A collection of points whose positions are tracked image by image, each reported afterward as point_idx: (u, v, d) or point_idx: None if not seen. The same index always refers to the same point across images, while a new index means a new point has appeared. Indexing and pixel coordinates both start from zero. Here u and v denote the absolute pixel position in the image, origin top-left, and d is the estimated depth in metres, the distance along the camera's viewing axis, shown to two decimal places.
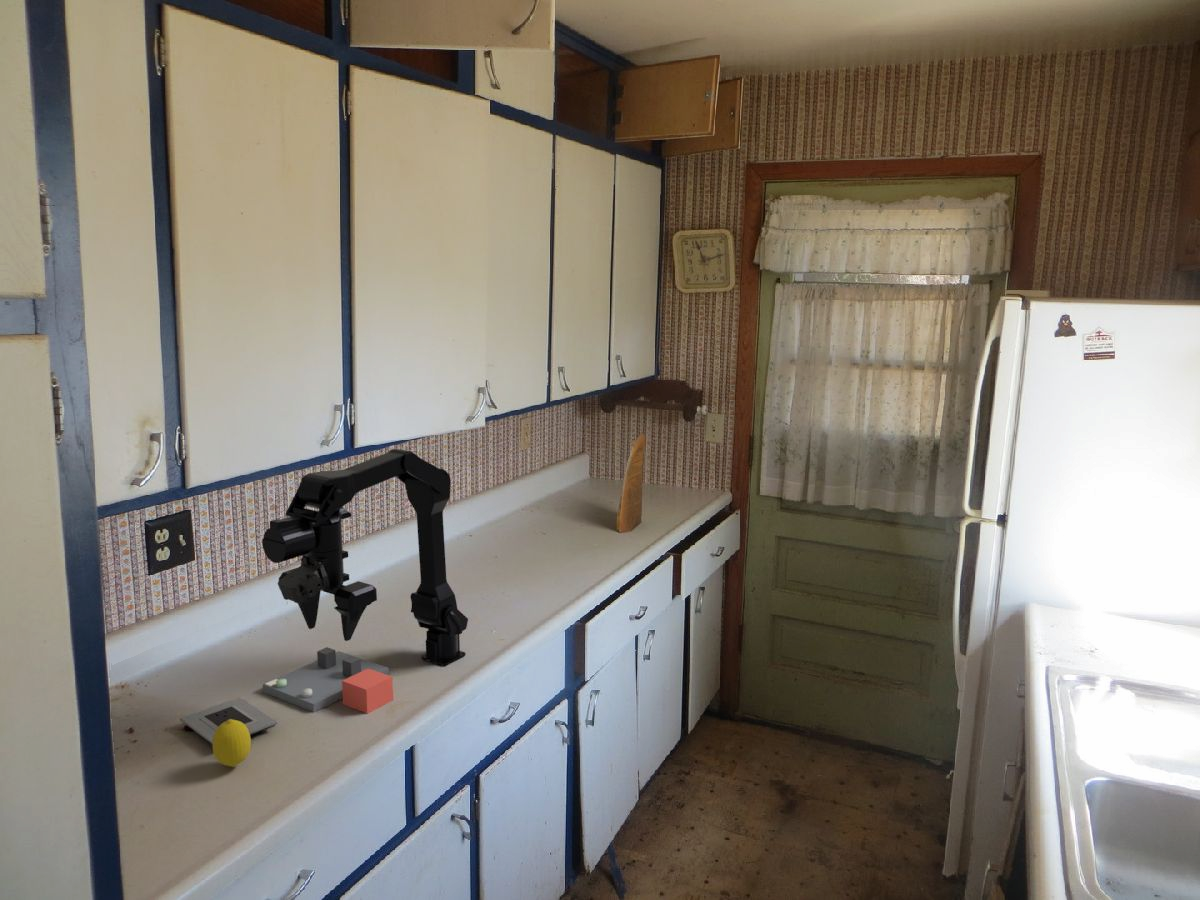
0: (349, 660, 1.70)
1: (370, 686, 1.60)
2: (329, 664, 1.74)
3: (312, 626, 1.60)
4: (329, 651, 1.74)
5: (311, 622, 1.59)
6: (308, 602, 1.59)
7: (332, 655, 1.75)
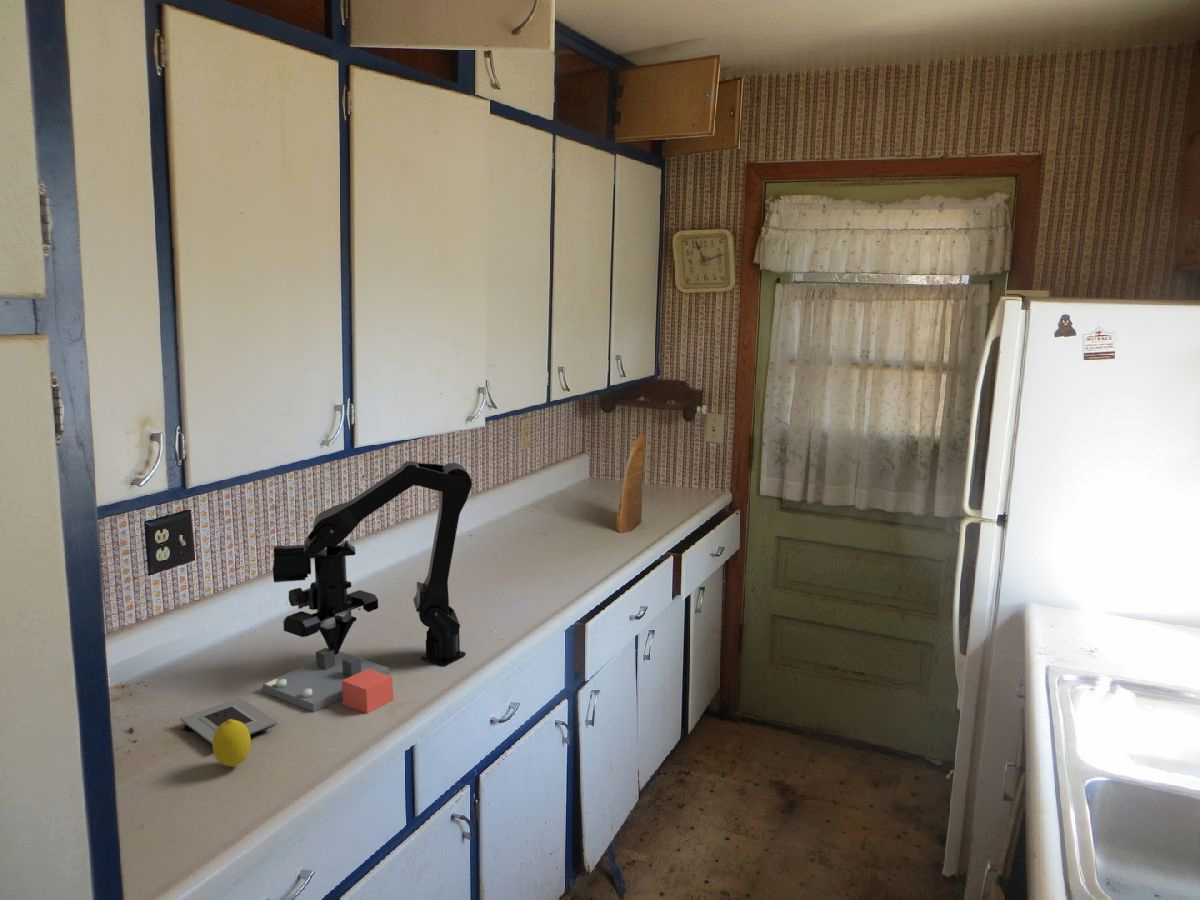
0: (349, 660, 1.70)
1: (370, 686, 1.60)
2: (328, 665, 1.74)
3: (334, 652, 1.77)
4: (328, 651, 1.74)
5: None
6: None
7: (331, 655, 1.74)
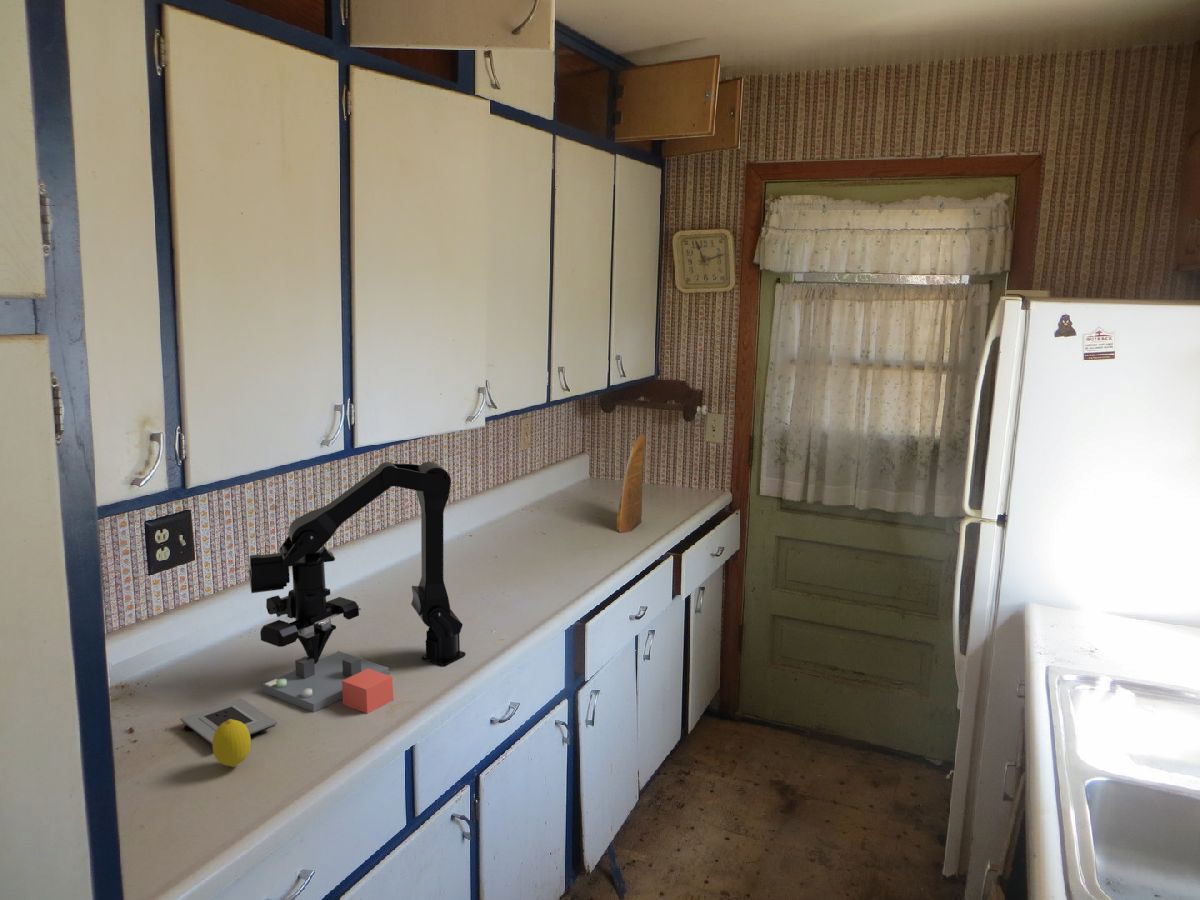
0: (349, 660, 1.70)
1: (370, 686, 1.60)
2: (307, 674, 1.70)
3: None
4: (307, 660, 1.70)
5: None
6: None
7: (311, 664, 1.70)
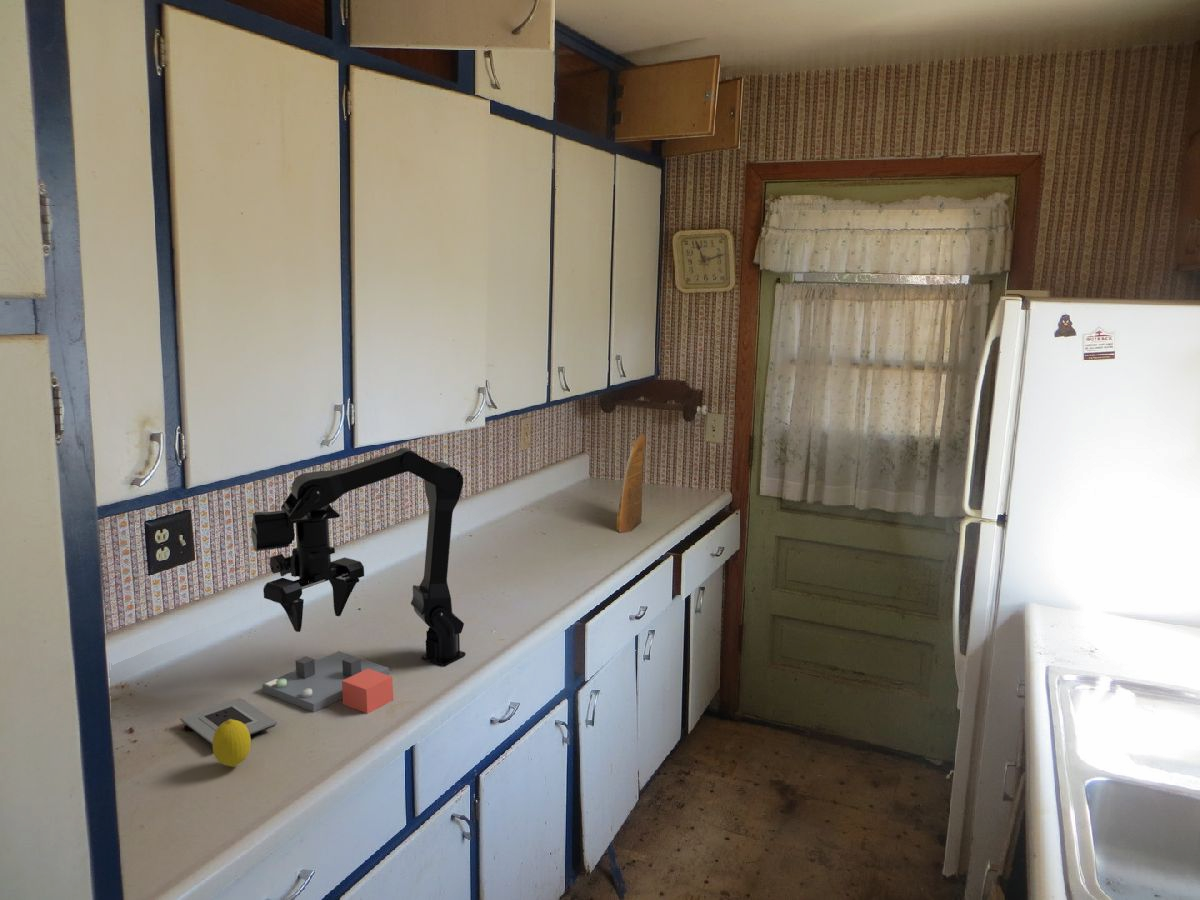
0: (349, 660, 1.70)
1: (370, 686, 1.60)
2: (308, 673, 1.70)
3: (337, 614, 1.73)
4: (307, 660, 1.70)
5: (336, 610, 1.73)
6: (338, 591, 1.72)
7: (311, 664, 1.70)
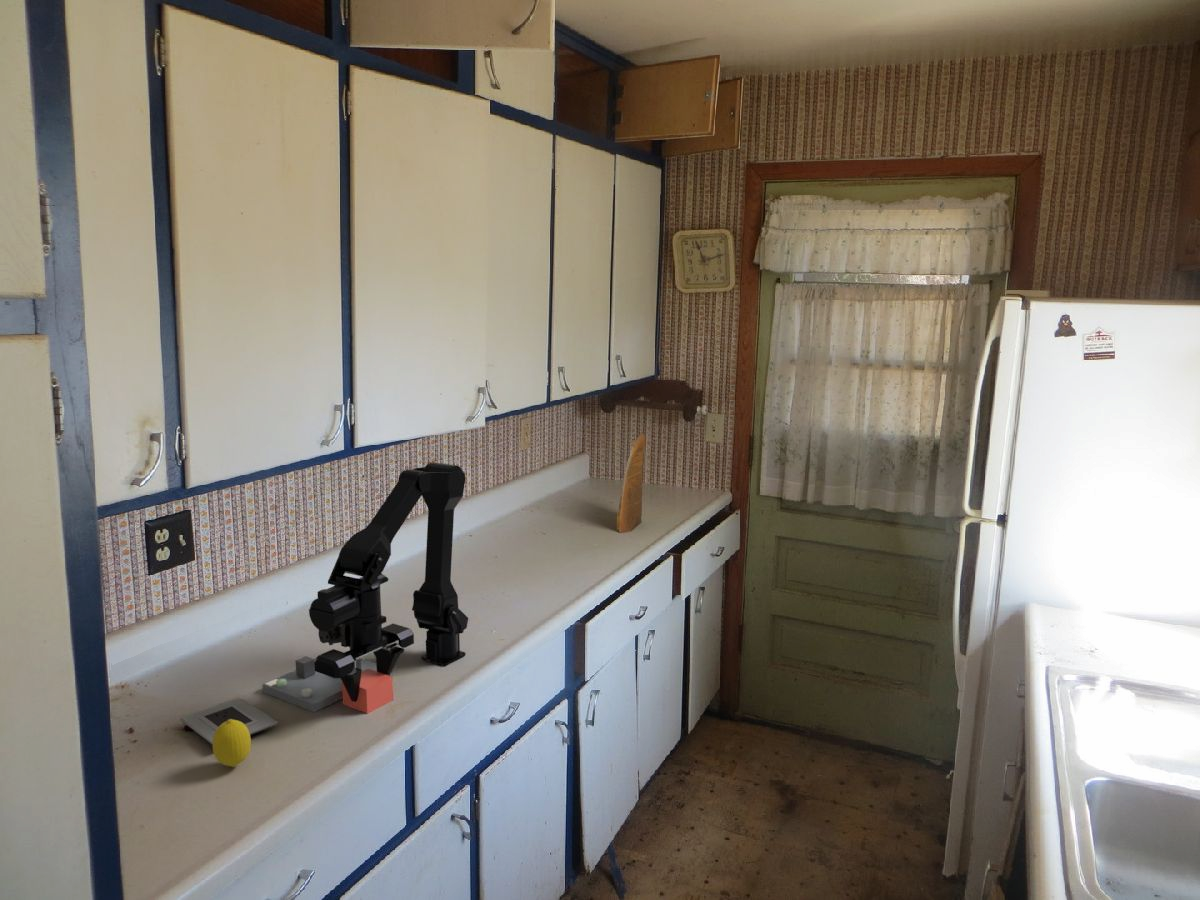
0: None
1: (370, 686, 1.60)
2: (308, 673, 1.70)
3: None
4: (307, 660, 1.70)
5: None
6: (381, 662, 1.66)
7: (311, 664, 1.70)
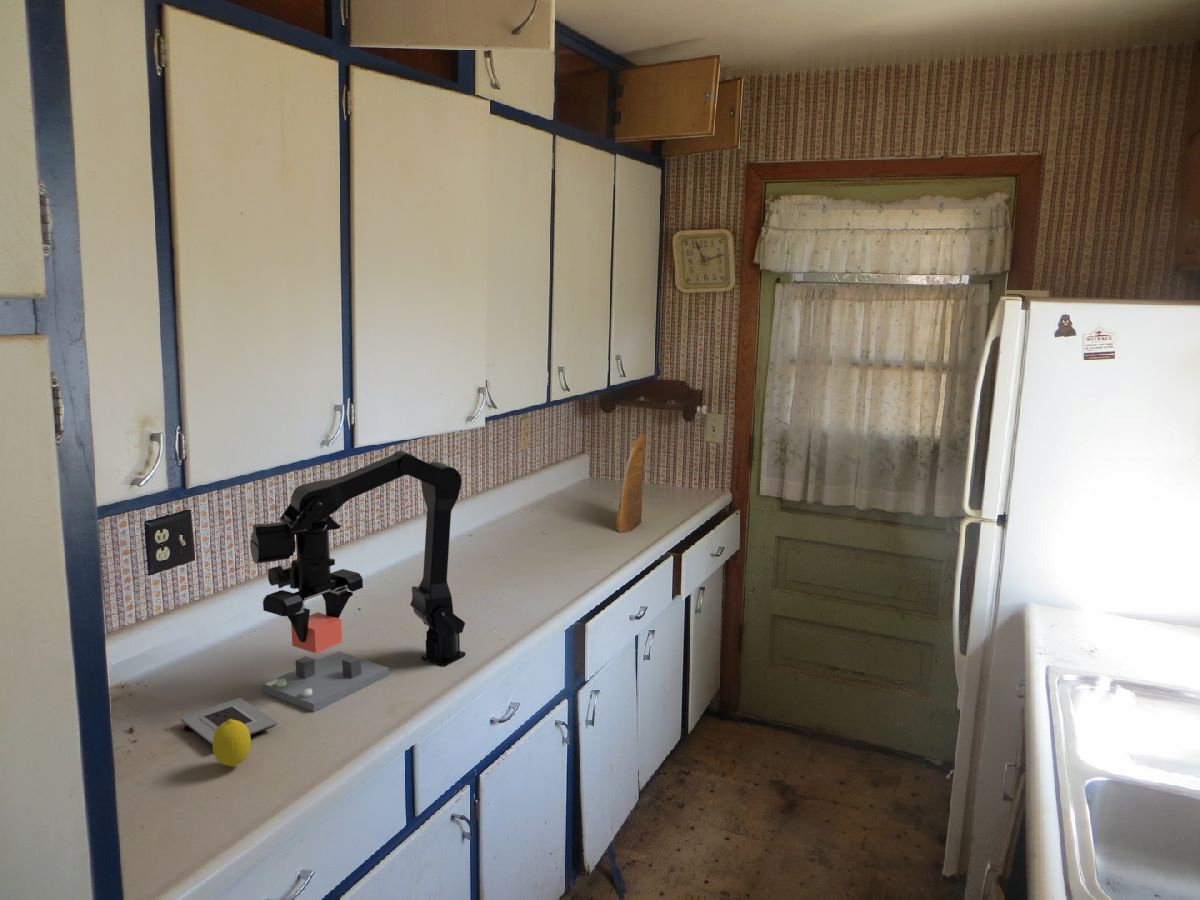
0: (349, 660, 1.70)
1: (319, 627, 1.64)
2: (308, 673, 1.70)
3: None
4: (307, 660, 1.70)
5: None
6: (330, 605, 1.70)
7: (311, 664, 1.70)
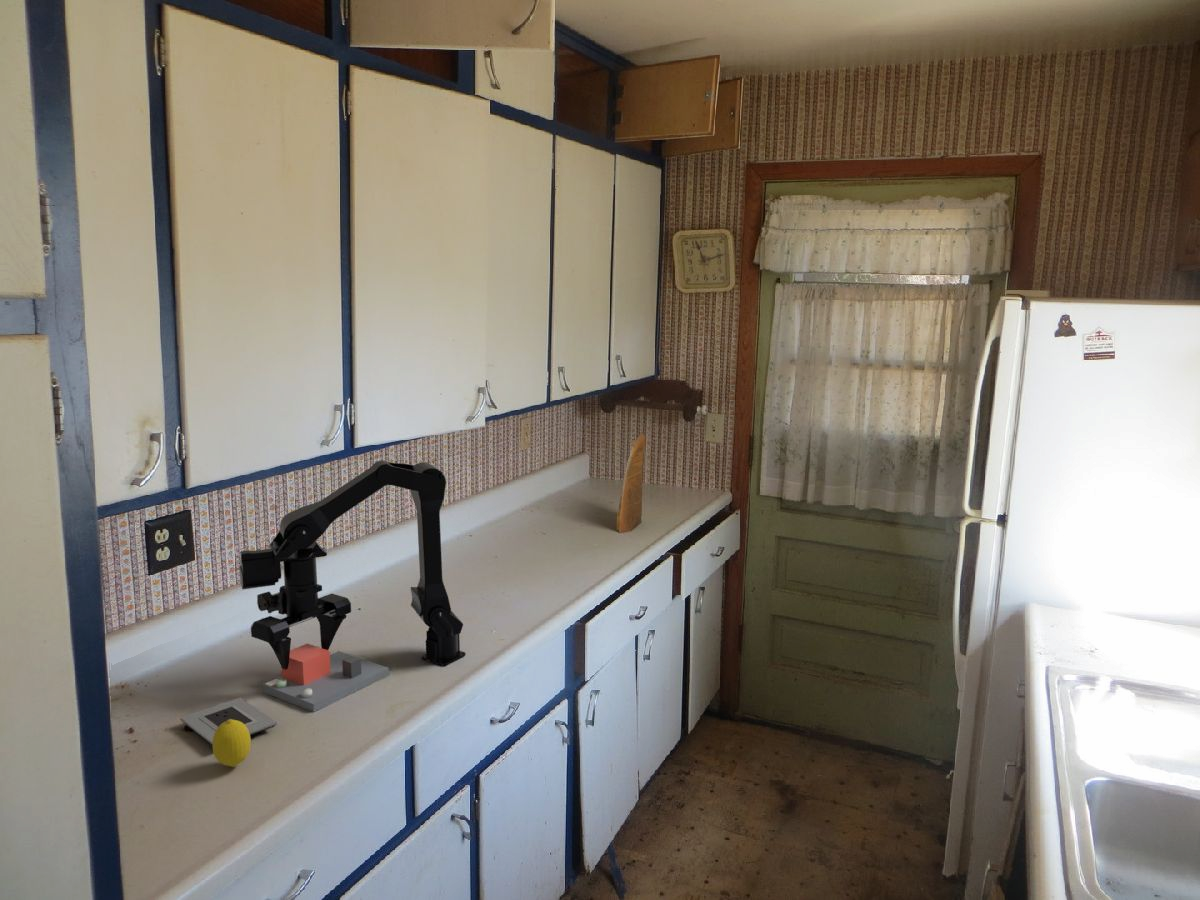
0: (349, 660, 1.70)
1: (307, 659, 1.67)
2: None
3: None
4: None
5: (323, 646, 1.74)
6: (325, 627, 1.74)
7: None
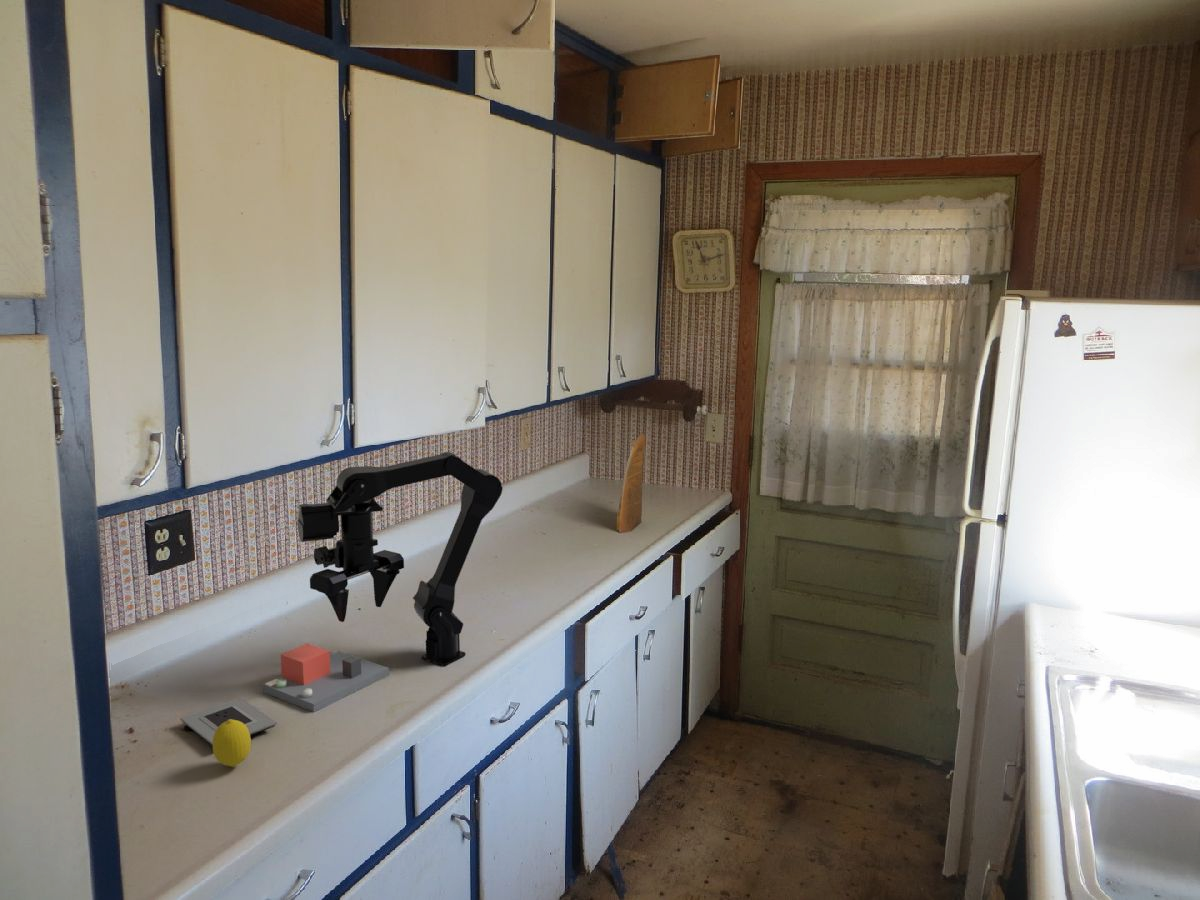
0: (349, 660, 1.70)
1: (307, 659, 1.67)
2: None
3: (377, 605, 1.77)
4: None
5: (376, 601, 1.77)
6: (378, 583, 1.77)
7: None
